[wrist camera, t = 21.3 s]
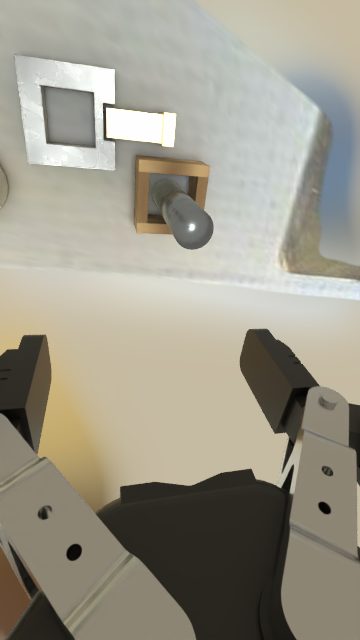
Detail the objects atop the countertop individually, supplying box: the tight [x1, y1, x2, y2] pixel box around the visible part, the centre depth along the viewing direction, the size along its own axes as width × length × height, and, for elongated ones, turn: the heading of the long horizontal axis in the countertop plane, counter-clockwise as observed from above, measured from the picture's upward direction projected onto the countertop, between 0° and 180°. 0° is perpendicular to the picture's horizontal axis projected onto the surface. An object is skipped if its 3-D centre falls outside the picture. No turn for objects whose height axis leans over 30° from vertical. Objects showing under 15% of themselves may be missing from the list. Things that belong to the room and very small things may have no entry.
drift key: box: [106, 108, 176, 147], centre depth 34 cm, size 7×3×4 cm, turn 84°
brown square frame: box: [134, 155, 210, 234], centre depth 39 cm, size 8×8×4 cm
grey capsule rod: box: [152, 179, 213, 250], centre depth 34 cm, size 4×4×15 cm
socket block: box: [14, 54, 115, 171], centre depth 33 cm, size 9×9×2 cm
